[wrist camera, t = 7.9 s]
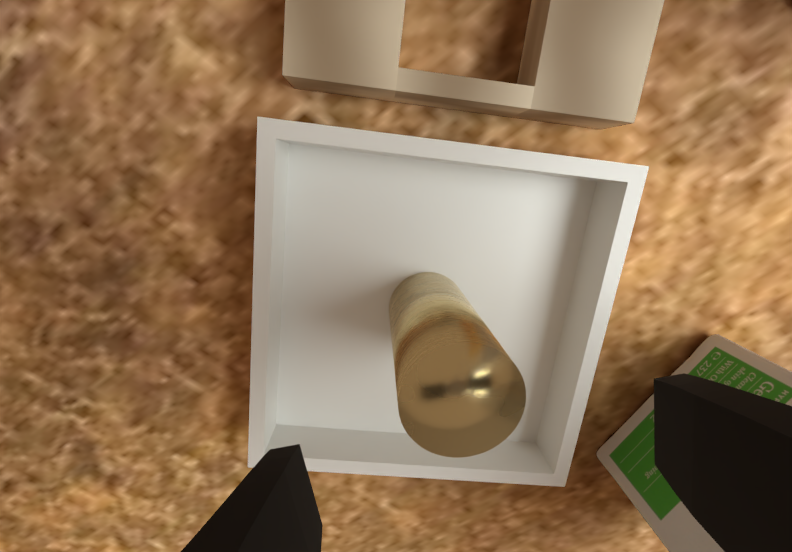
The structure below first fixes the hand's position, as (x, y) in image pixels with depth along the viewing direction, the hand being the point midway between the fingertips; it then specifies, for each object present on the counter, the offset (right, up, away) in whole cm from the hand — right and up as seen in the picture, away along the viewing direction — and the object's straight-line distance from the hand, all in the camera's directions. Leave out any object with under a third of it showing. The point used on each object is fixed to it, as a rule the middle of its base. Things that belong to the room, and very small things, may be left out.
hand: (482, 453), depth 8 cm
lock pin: (0, +2, +9) cm, 9 cm away
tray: (-1, +2, +9) cm, 9 cm away
